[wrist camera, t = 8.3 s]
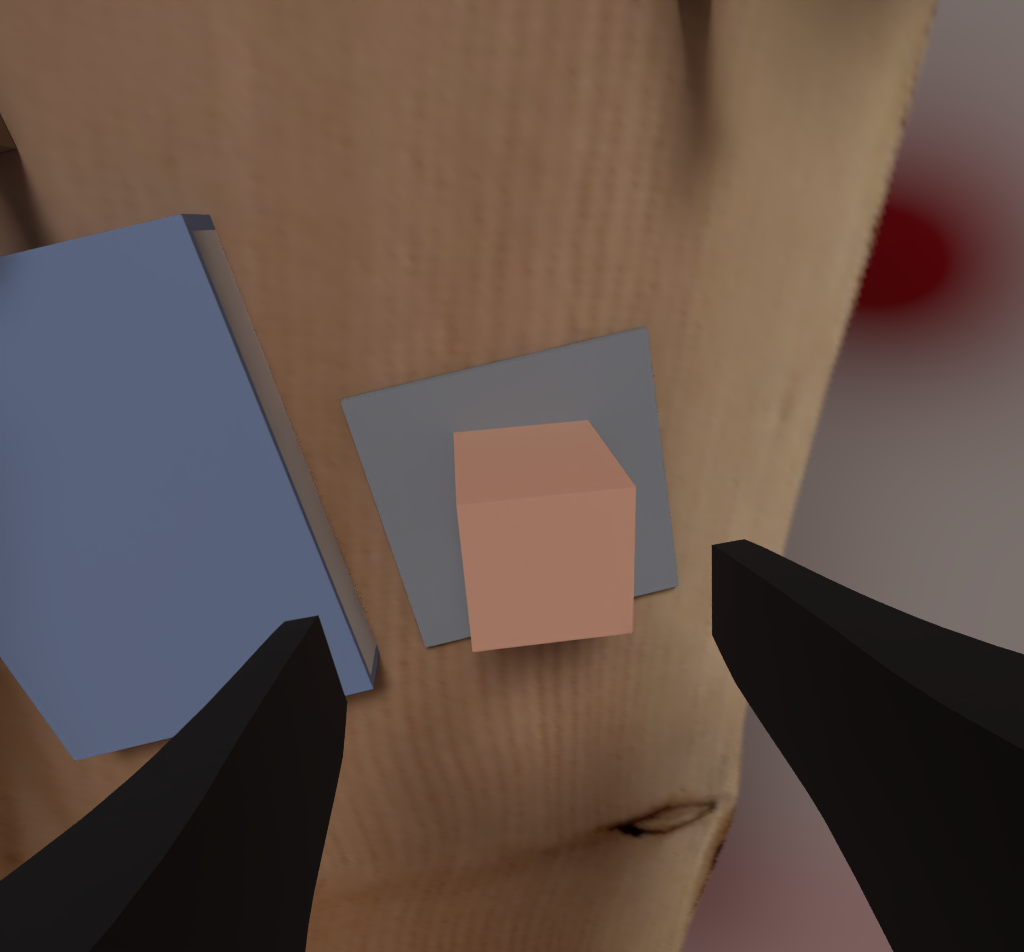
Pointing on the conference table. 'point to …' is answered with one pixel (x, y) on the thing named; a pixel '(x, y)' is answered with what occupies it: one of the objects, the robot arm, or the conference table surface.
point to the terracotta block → (544, 535)
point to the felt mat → (502, 404)
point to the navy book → (150, 489)
